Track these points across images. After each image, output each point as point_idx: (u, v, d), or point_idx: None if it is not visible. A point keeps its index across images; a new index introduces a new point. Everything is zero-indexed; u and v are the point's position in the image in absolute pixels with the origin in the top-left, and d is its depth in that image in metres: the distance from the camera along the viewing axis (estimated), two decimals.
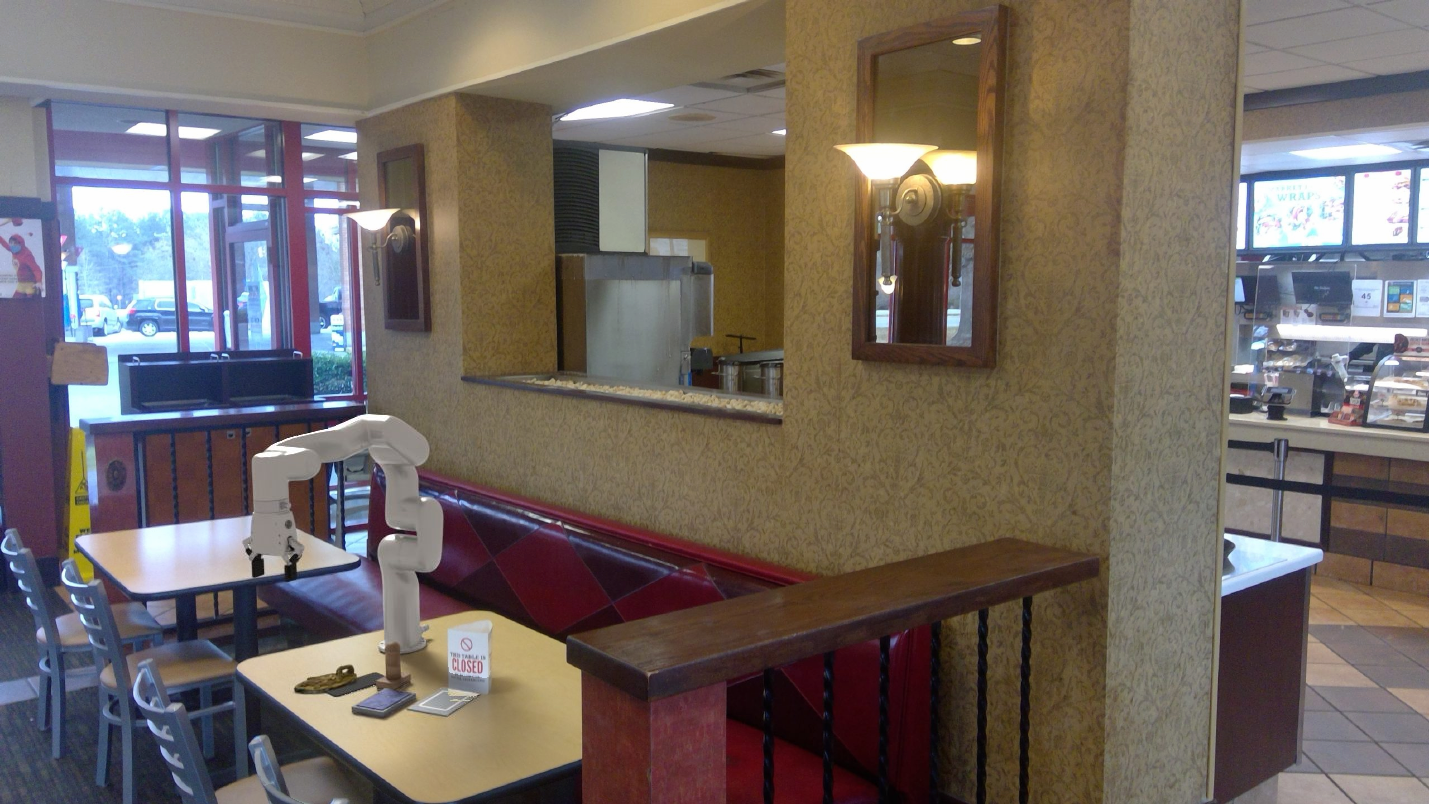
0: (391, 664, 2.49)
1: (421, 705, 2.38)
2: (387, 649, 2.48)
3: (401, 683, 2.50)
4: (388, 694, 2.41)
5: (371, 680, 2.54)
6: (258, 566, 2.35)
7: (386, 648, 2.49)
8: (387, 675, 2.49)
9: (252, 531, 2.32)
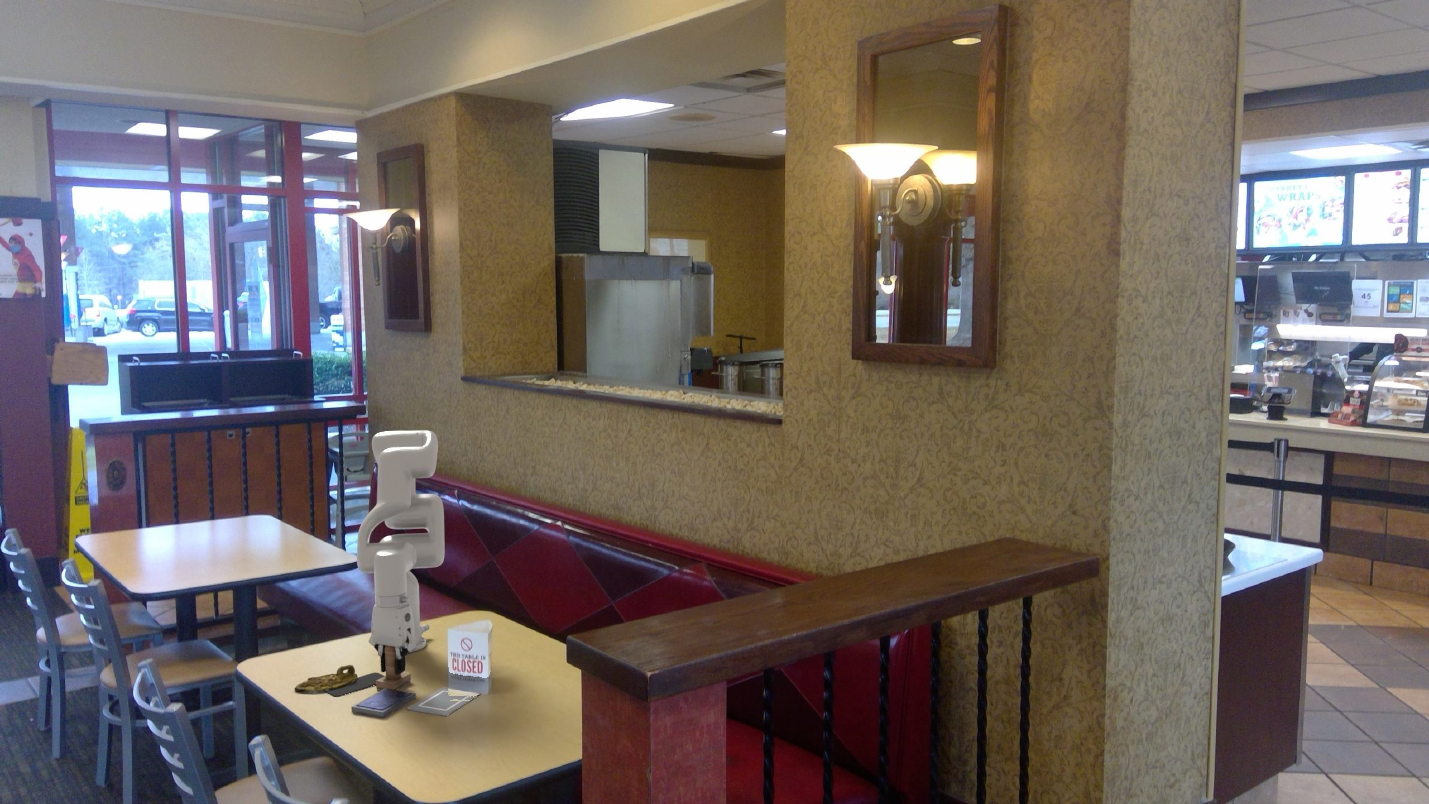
0: (391, 664, 2.49)
1: (421, 705, 2.38)
2: (387, 649, 2.48)
3: (401, 683, 2.50)
4: (388, 694, 2.41)
5: (371, 680, 2.54)
6: None
7: (386, 648, 2.49)
8: (387, 675, 2.49)
9: (373, 623, 2.49)
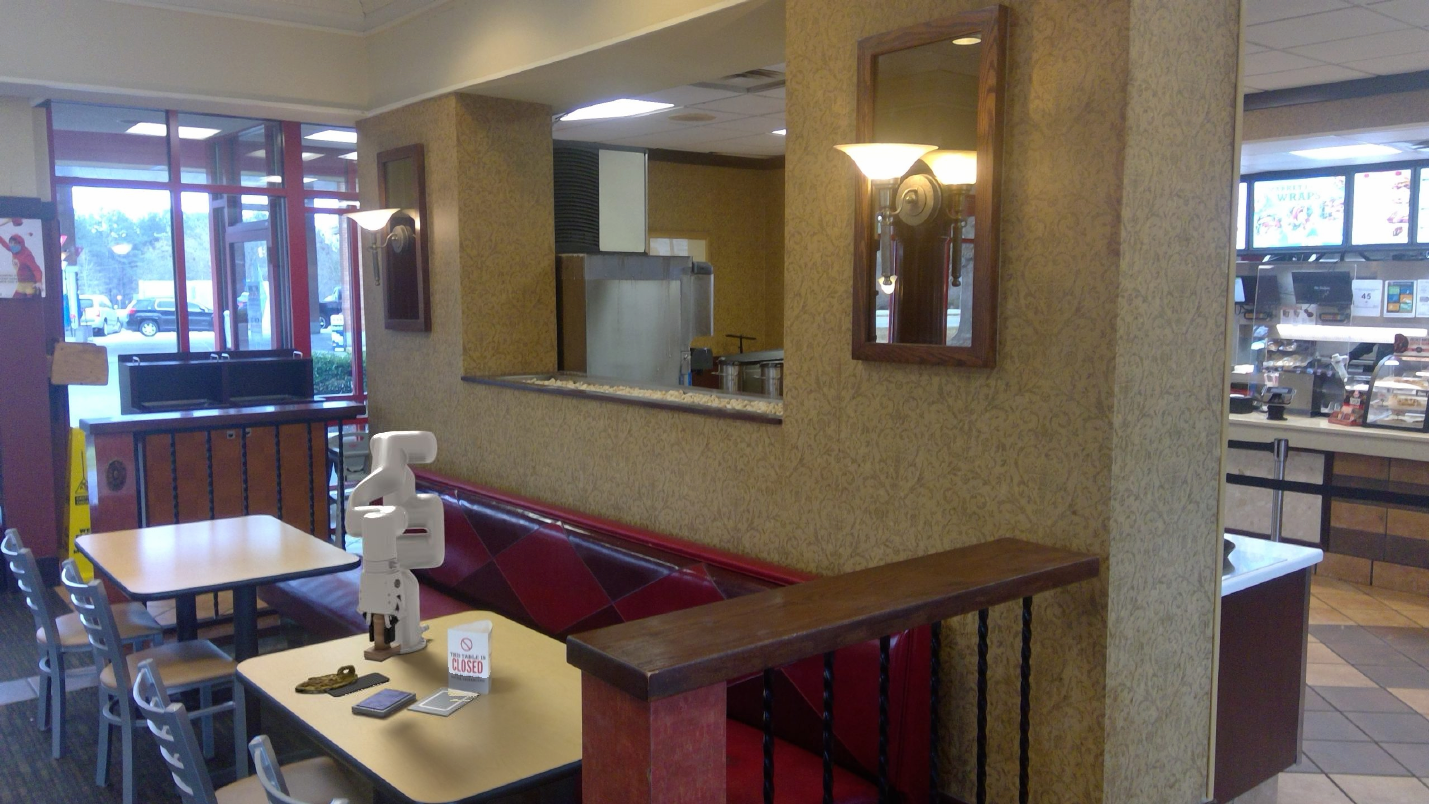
0: (380, 633, 2.35)
1: (421, 705, 2.38)
2: (376, 617, 2.35)
3: (390, 653, 2.36)
4: (388, 694, 2.41)
5: (371, 680, 2.54)
6: None
7: (374, 616, 2.35)
8: (376, 645, 2.36)
9: (361, 590, 2.35)
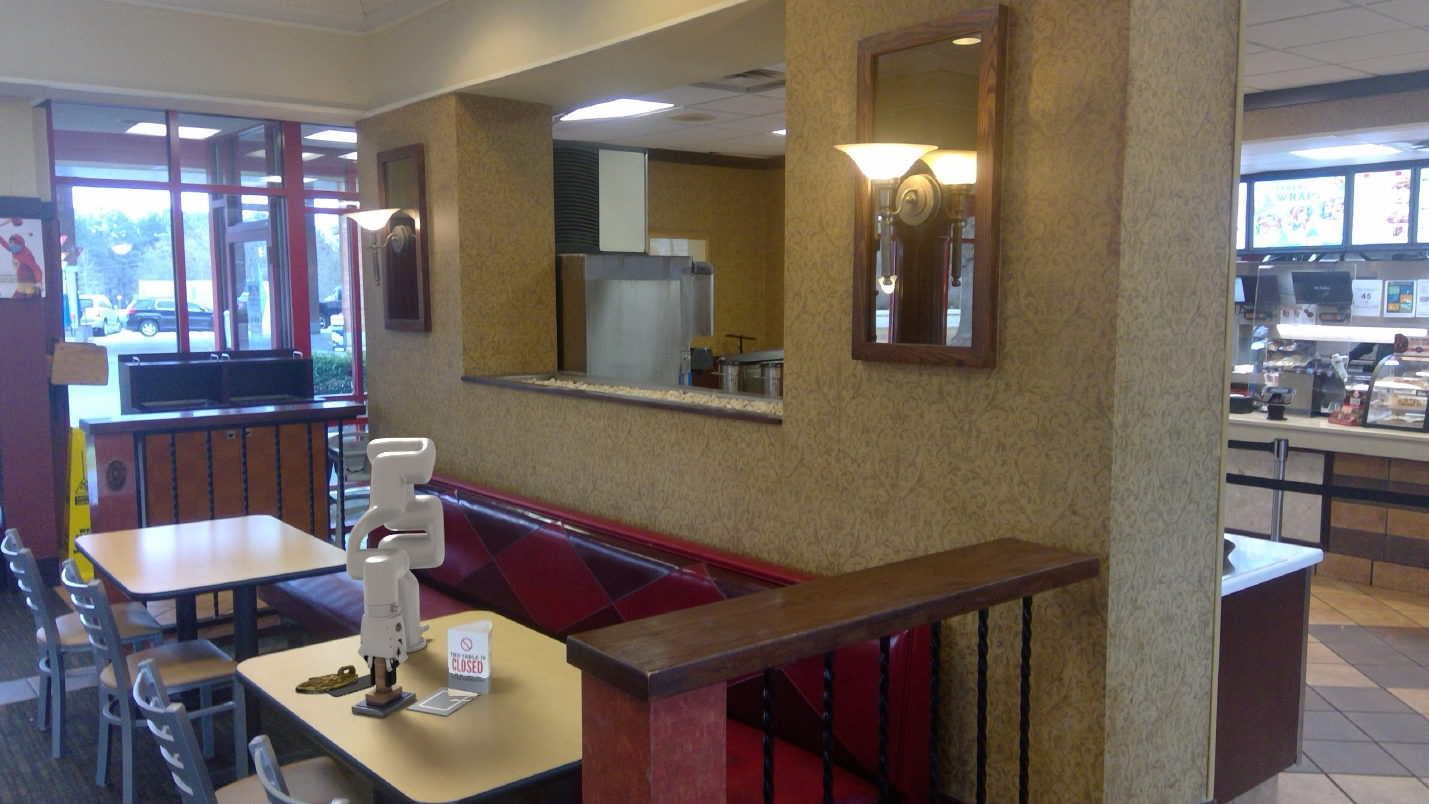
0: (381, 677, 2.36)
1: (421, 705, 2.38)
2: (377, 661, 2.36)
3: (391, 696, 2.37)
4: None
5: None
6: None
7: (376, 660, 2.36)
8: (377, 688, 2.37)
9: (362, 633, 2.36)
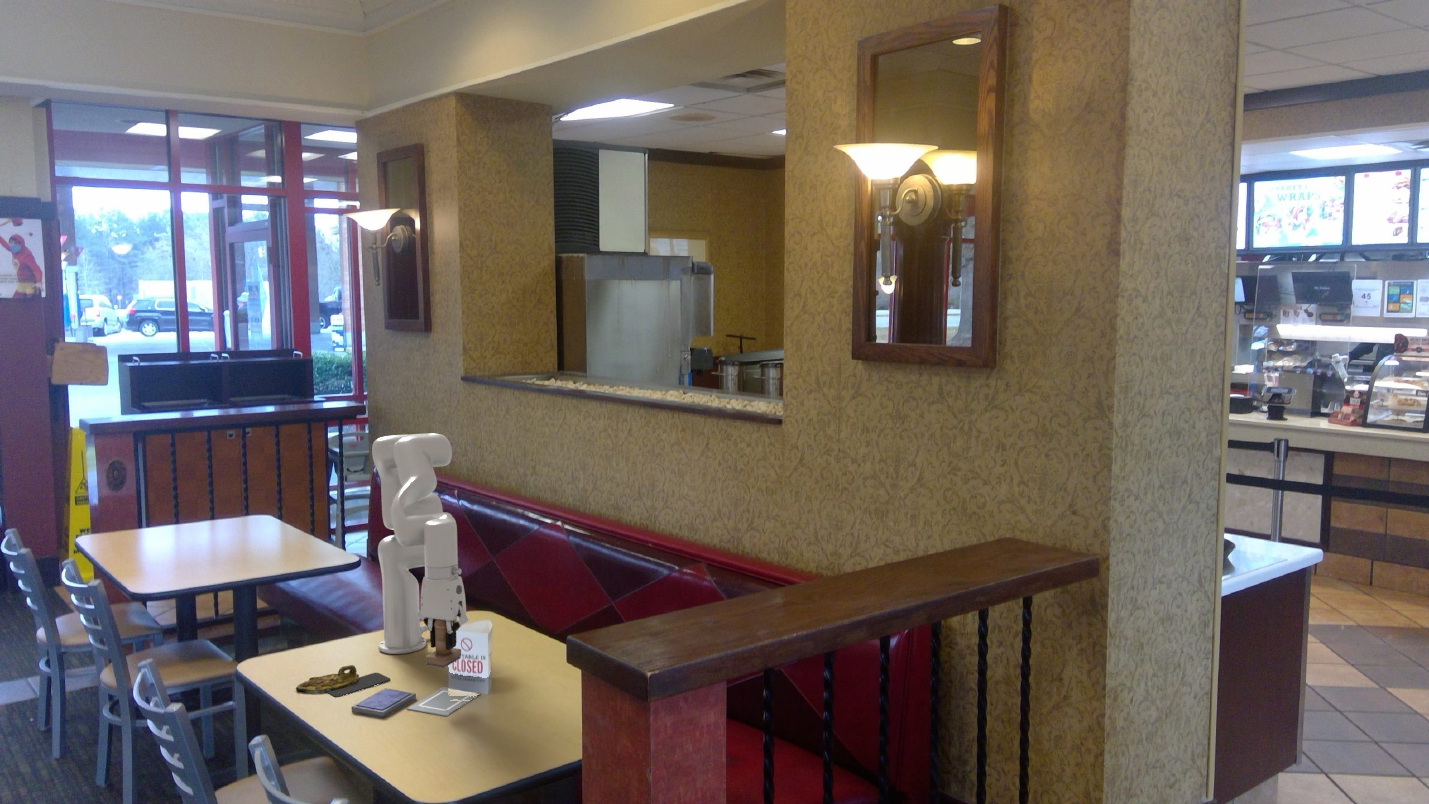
0: (441, 639, 2.38)
1: (421, 705, 2.38)
2: (437, 623, 2.37)
3: (451, 659, 2.39)
4: (388, 694, 2.41)
5: (372, 680, 2.53)
6: None
7: (436, 622, 2.38)
8: (437, 650, 2.38)
9: (423, 596, 2.38)
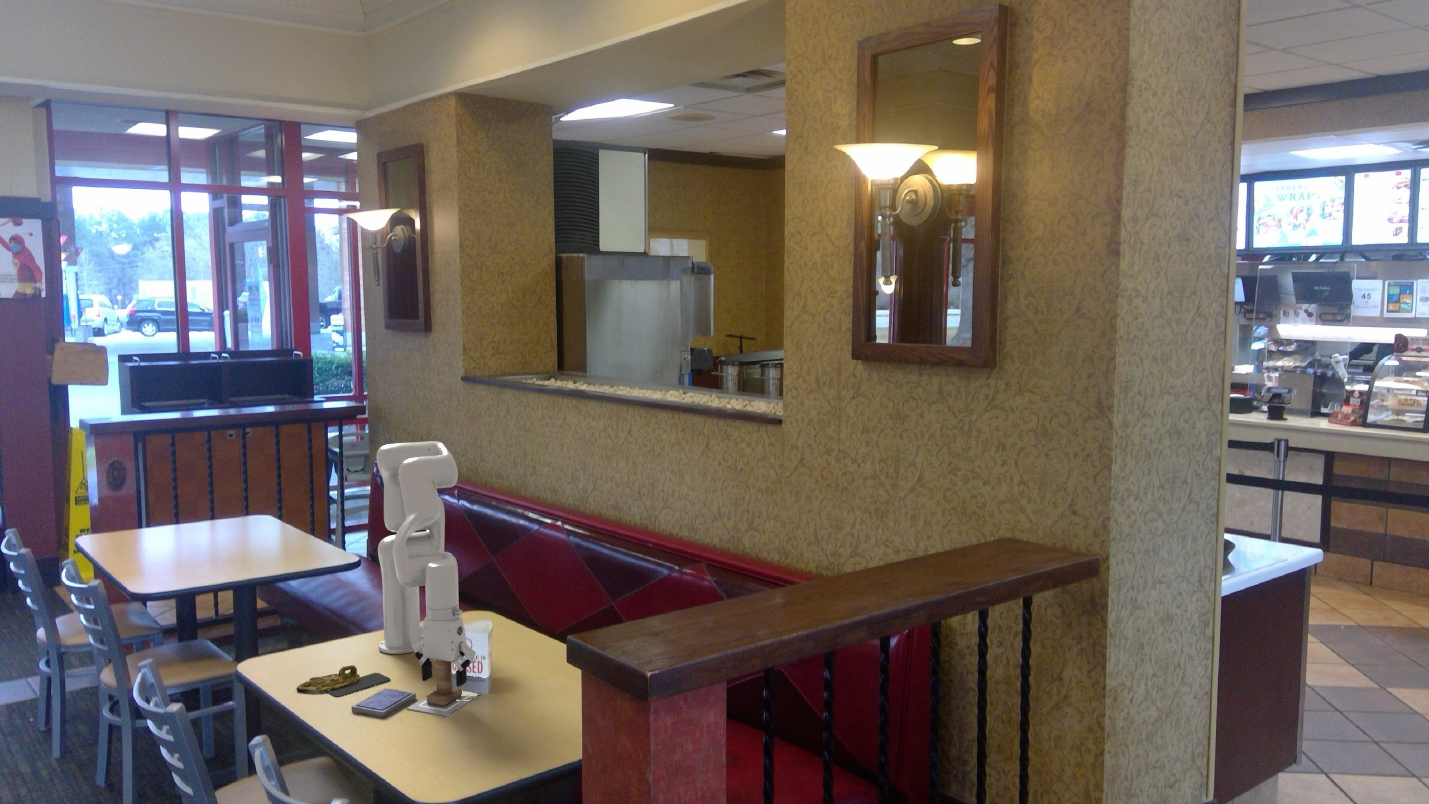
0: (442, 679, 2.39)
1: (421, 705, 2.38)
2: (438, 663, 2.38)
3: (452, 698, 2.40)
4: (388, 694, 2.41)
5: (372, 680, 2.53)
6: (427, 669, 2.42)
7: (437, 661, 2.39)
8: (438, 690, 2.39)
9: (424, 637, 2.39)
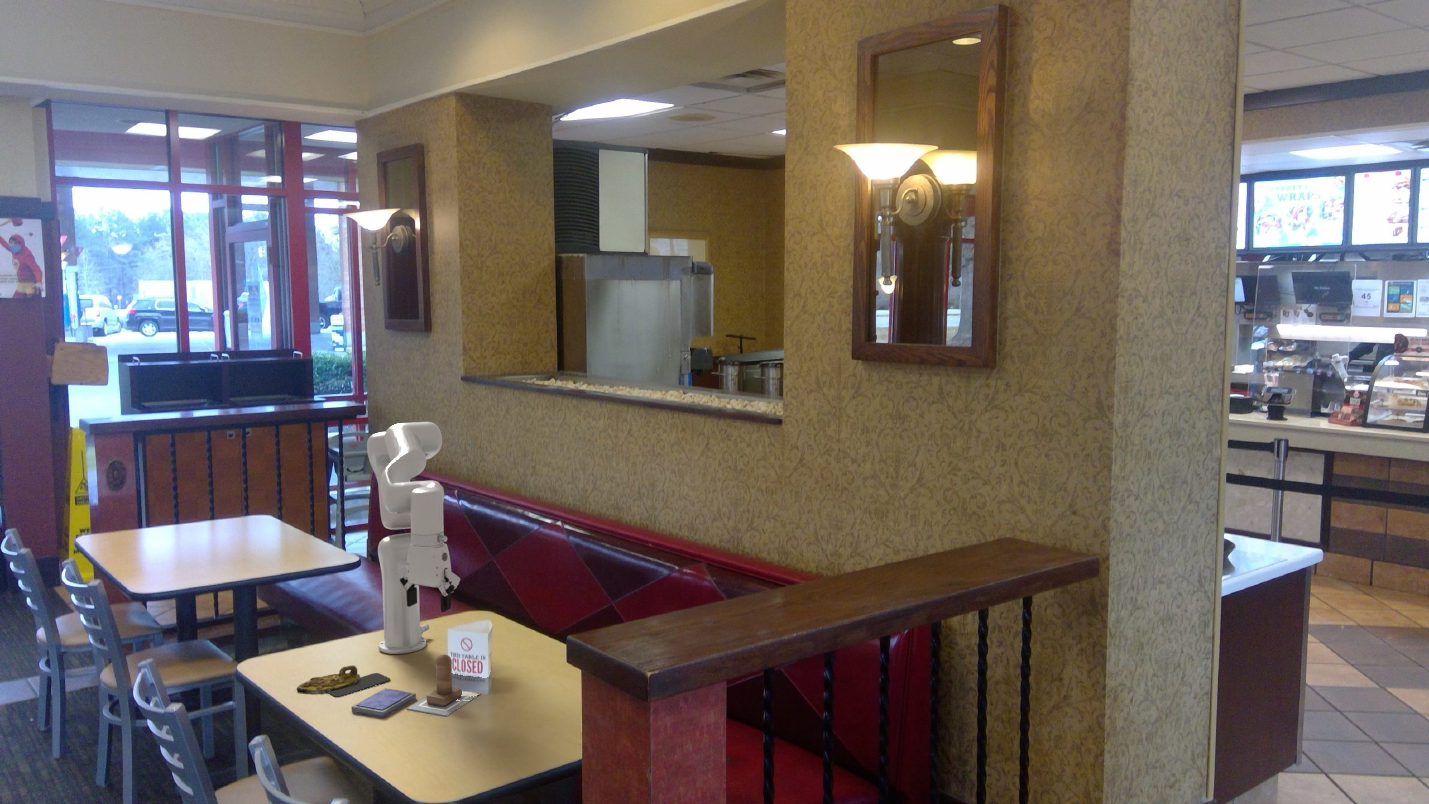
0: (442, 679, 2.39)
1: (421, 705, 2.38)
2: (438, 663, 2.38)
3: (452, 698, 2.40)
4: (388, 694, 2.41)
5: (372, 680, 2.53)
6: (412, 595, 2.45)
7: (437, 661, 2.39)
8: (438, 690, 2.39)
9: (409, 562, 2.42)
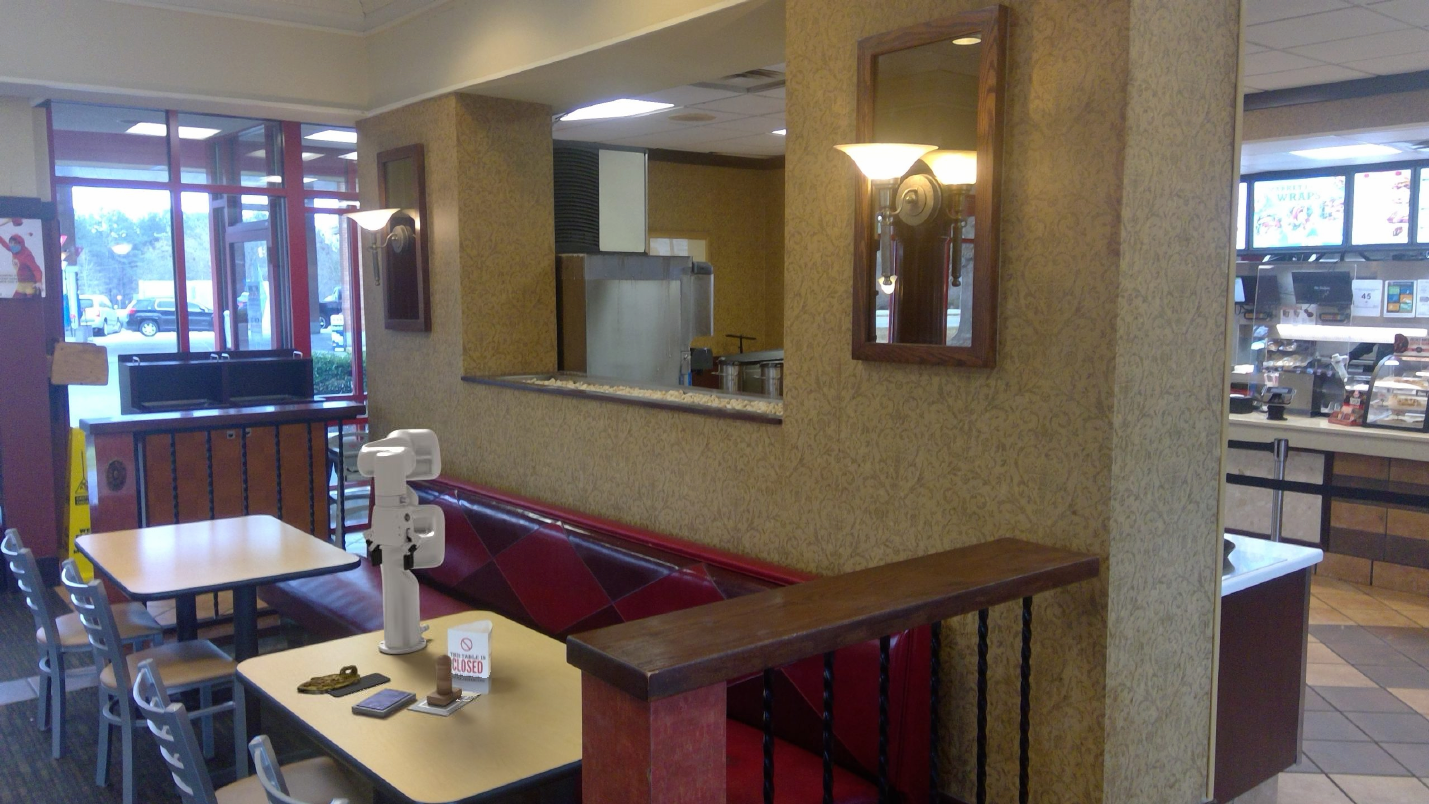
0: (442, 679, 2.39)
1: (421, 705, 2.38)
2: (438, 663, 2.38)
3: (452, 698, 2.40)
4: (388, 694, 2.41)
5: (372, 680, 2.53)
6: (377, 556, 2.56)
7: (437, 661, 2.39)
8: (438, 690, 2.39)
9: (373, 523, 2.53)
